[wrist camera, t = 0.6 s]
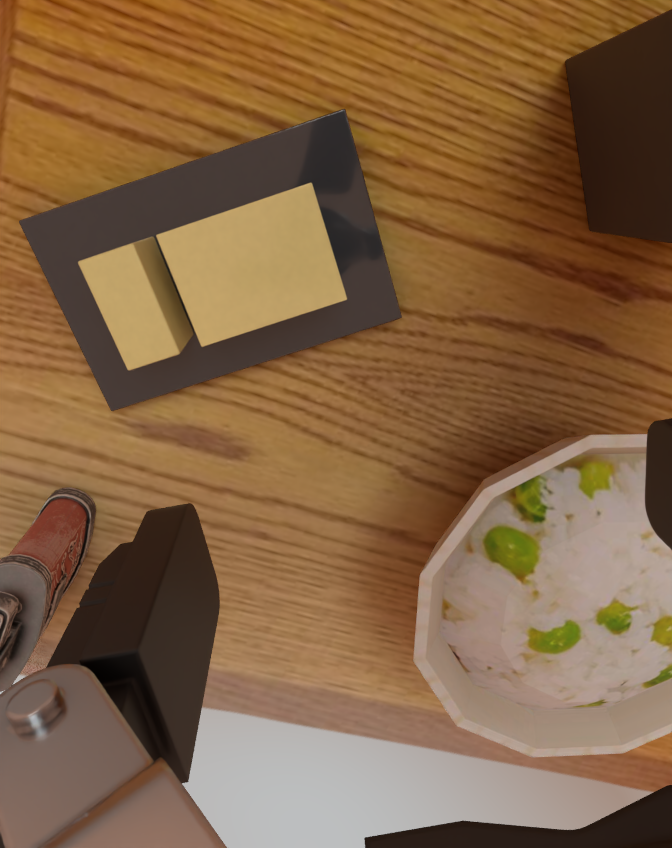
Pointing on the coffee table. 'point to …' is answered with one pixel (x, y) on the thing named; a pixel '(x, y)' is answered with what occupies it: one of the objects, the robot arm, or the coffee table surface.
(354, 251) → the butter board
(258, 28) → the coffee table surface
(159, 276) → the butter pat
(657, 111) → the knife block
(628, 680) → the bowl
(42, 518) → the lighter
